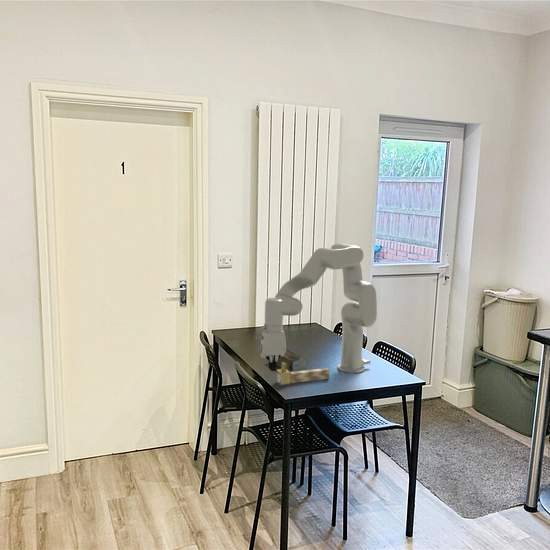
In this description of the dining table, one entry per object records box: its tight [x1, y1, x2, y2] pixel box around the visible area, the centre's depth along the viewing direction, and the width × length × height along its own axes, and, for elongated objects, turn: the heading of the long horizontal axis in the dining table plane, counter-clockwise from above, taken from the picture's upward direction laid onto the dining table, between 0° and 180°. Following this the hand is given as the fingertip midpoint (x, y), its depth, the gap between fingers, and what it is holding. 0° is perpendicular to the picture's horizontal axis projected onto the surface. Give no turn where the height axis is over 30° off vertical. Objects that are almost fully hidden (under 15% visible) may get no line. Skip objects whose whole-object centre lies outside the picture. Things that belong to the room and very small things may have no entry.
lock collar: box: [276, 362, 291, 386], centre depth 233 cm, size 4×5×9 cm
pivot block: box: [277, 373, 282, 386], centre depth 233 cm, size 4×3×4 cm
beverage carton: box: [272, 348, 307, 372], centre depth 256 cm, size 8×19×7 cm, turn 31°
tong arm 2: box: [290, 368, 330, 384], centre depth 237 cm, size 18×1×4 cm, turn 113°
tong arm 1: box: [290, 367, 329, 383], centre depth 239 cm, size 18×1×4 cm, turn 112°
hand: (272, 370), depth 231 cm, fingers closed
